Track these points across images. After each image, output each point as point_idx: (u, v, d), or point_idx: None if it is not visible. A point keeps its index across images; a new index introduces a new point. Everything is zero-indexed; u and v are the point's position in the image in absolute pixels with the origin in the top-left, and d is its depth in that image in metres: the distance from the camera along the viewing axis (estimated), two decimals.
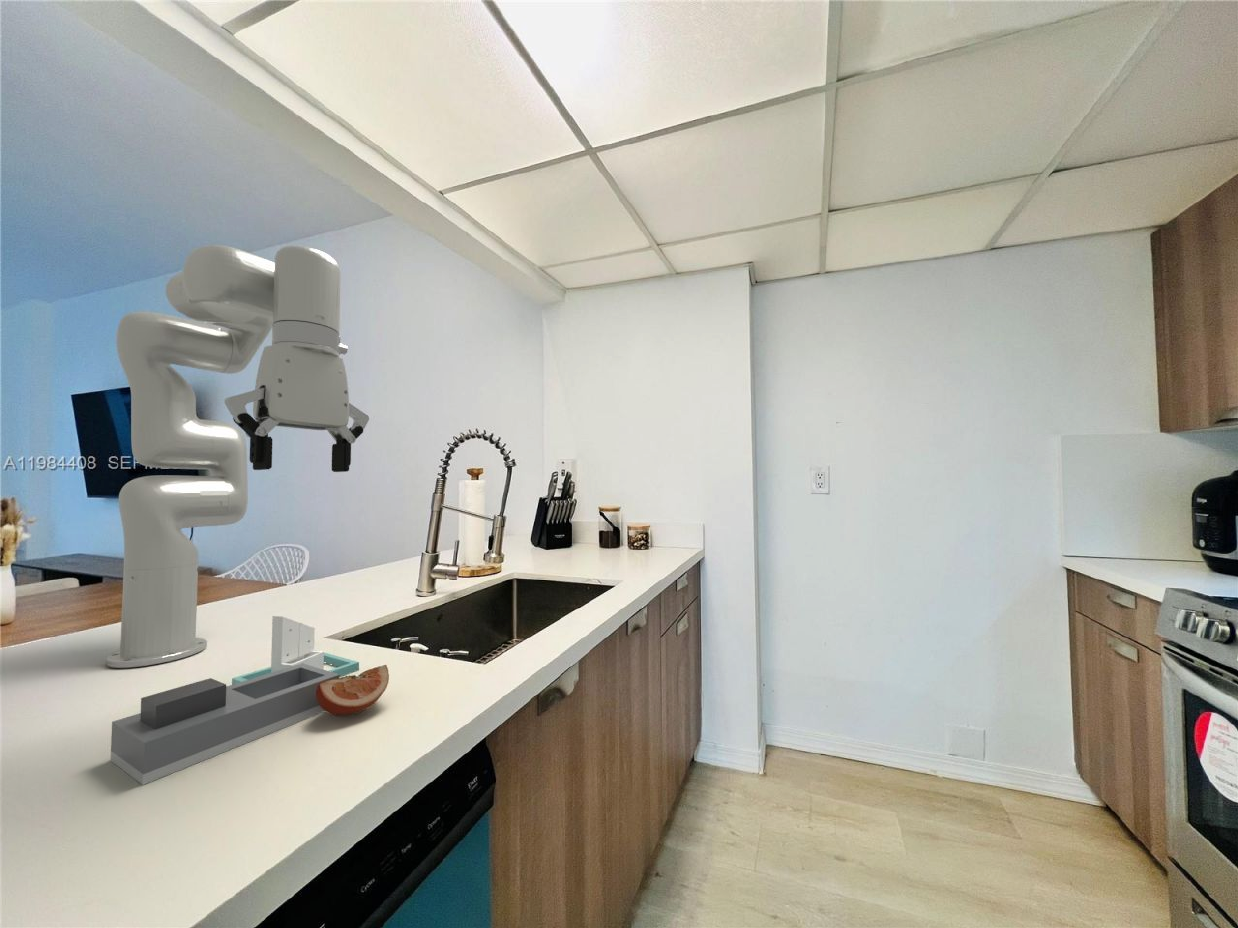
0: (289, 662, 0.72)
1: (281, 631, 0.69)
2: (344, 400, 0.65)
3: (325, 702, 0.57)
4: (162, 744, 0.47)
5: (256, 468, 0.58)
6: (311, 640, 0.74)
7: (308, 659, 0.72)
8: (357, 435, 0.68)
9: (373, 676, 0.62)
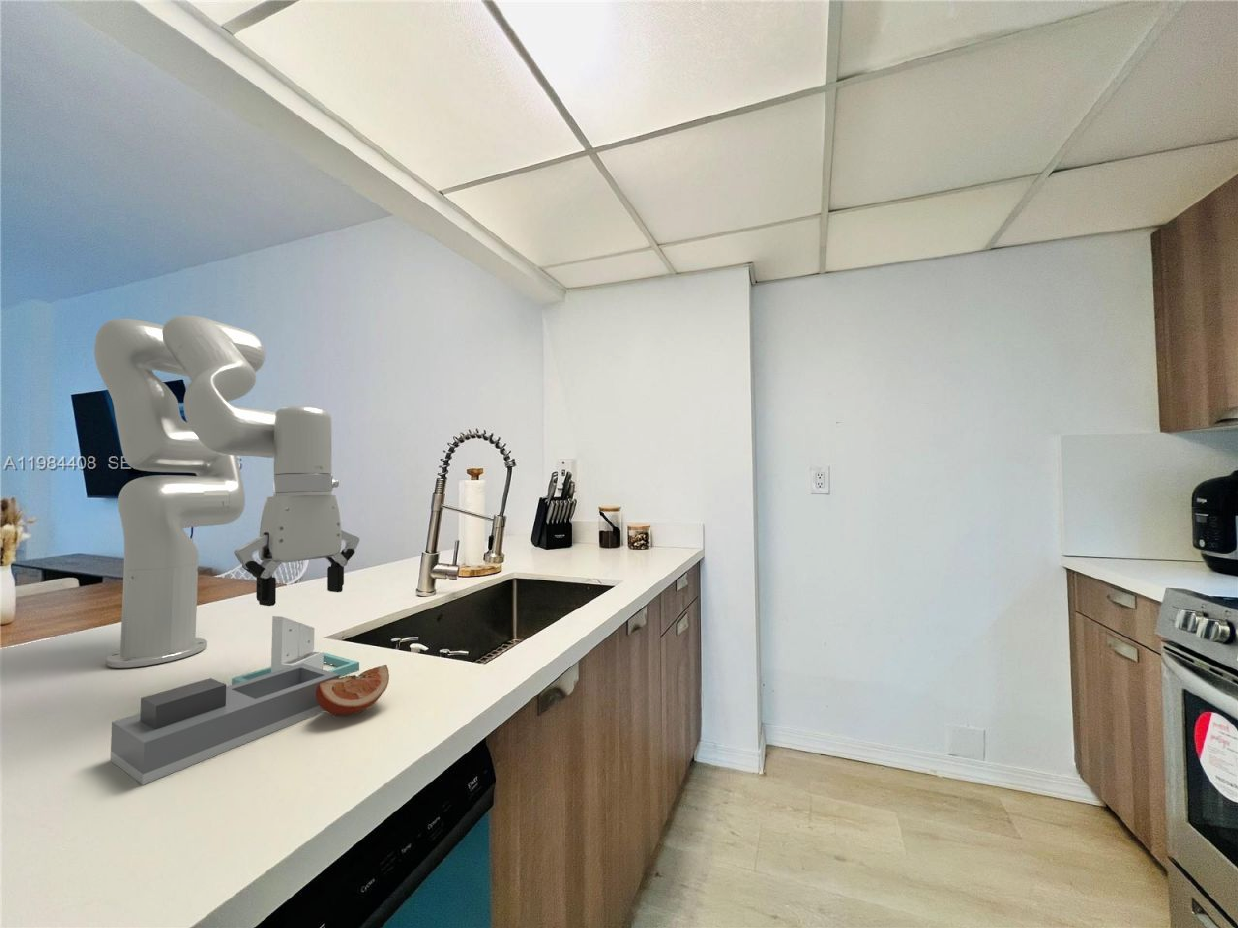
0: (289, 662, 0.72)
1: (281, 631, 0.69)
2: (337, 531, 0.75)
3: (325, 702, 0.57)
4: (162, 744, 0.47)
5: (262, 604, 0.68)
6: (311, 640, 0.74)
7: (308, 659, 0.72)
8: (349, 557, 0.78)
9: (373, 676, 0.62)
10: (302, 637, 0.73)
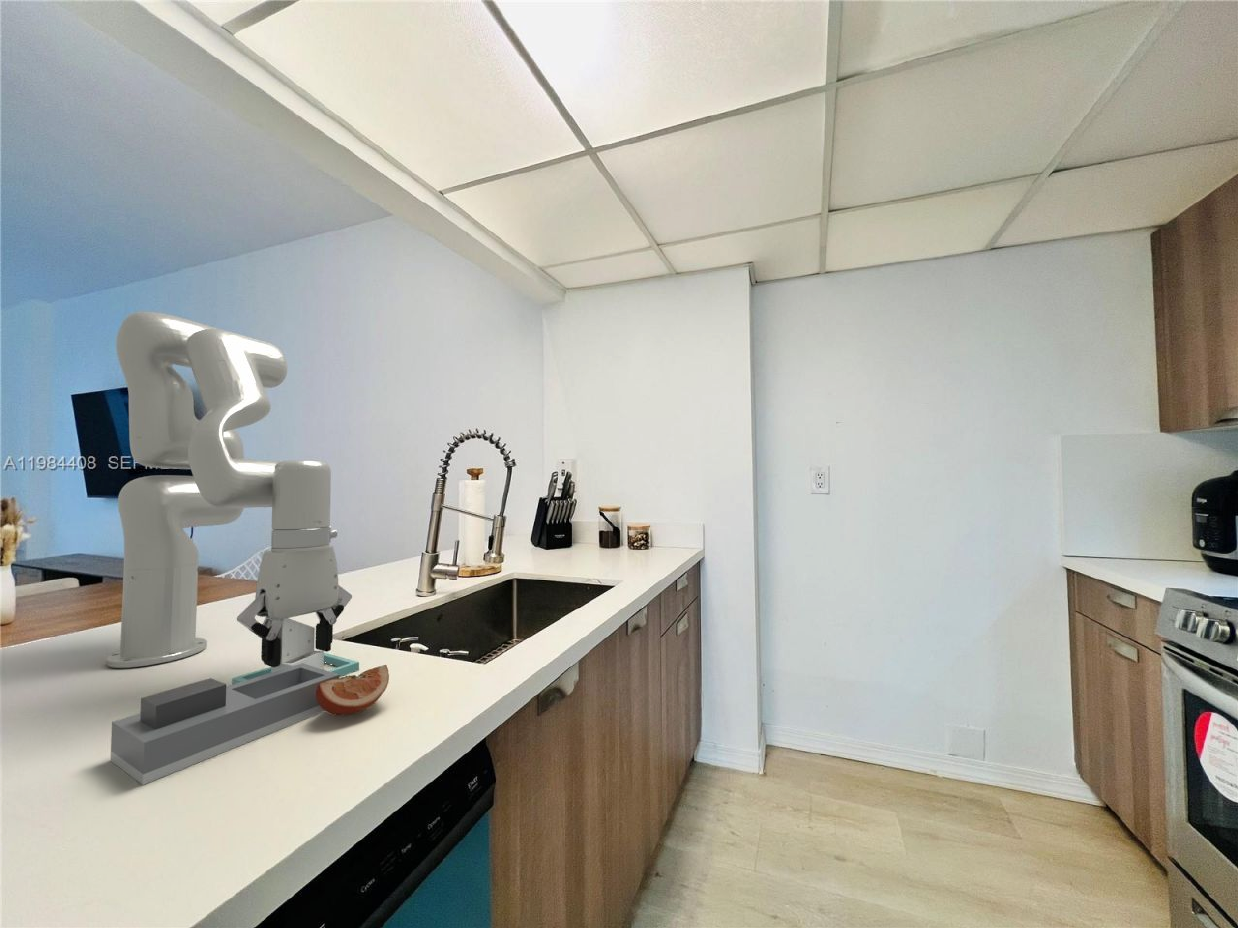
0: (289, 662, 0.72)
1: (281, 631, 0.69)
2: (334, 583, 0.75)
3: (325, 701, 0.57)
4: (162, 744, 0.47)
5: (266, 664, 0.69)
6: (311, 640, 0.74)
7: (308, 659, 0.72)
8: (338, 614, 0.77)
9: (373, 676, 0.62)
10: (302, 637, 0.73)
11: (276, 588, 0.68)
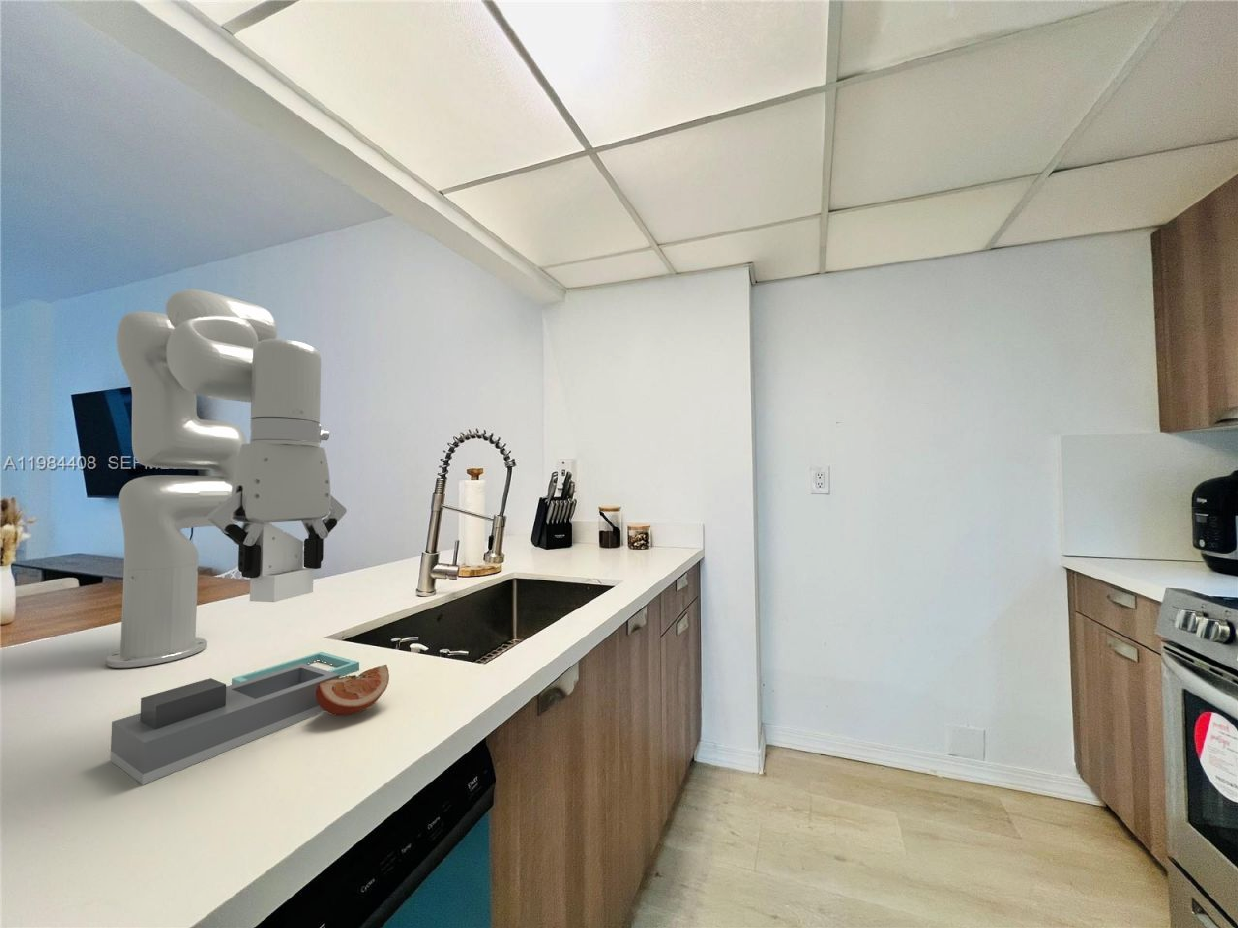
0: None
1: (262, 537, 0.59)
2: (325, 490, 0.64)
3: (325, 702, 0.57)
4: (162, 744, 0.47)
5: (244, 576, 0.58)
6: (299, 555, 0.64)
7: (295, 574, 0.61)
8: (330, 528, 0.66)
9: (373, 676, 0.62)
10: (288, 549, 0.62)
11: (255, 484, 0.57)
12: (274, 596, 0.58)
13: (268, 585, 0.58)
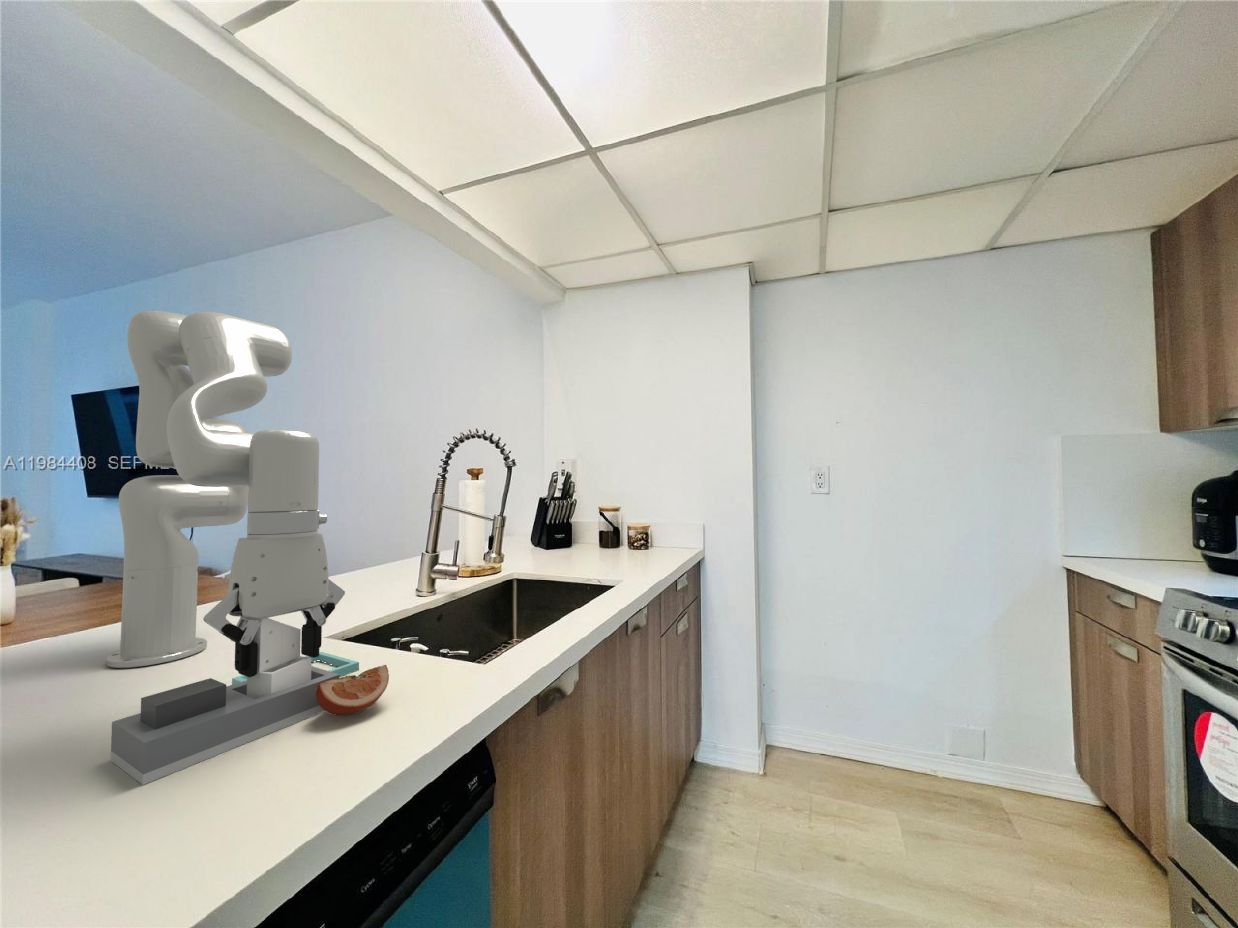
0: (270, 670, 0.61)
1: (259, 633, 0.58)
2: (323, 577, 0.64)
3: (325, 702, 0.57)
4: (162, 744, 0.47)
5: (241, 673, 0.57)
6: (296, 644, 0.63)
7: (292, 666, 0.60)
8: (328, 613, 0.65)
9: (373, 676, 0.62)
10: (285, 640, 0.61)
11: (252, 582, 0.56)
12: None
13: (265, 682, 0.57)
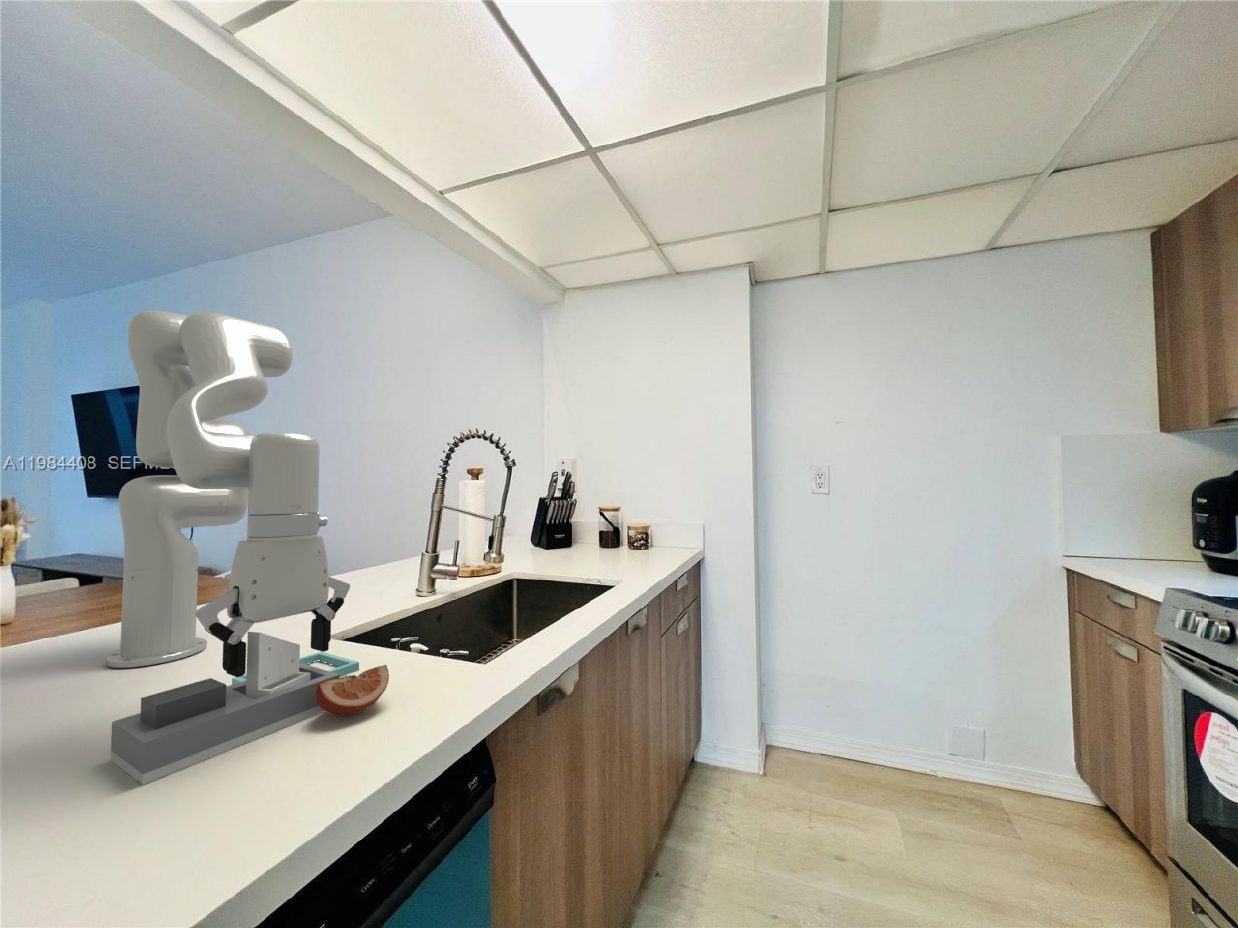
0: (269, 686, 0.61)
1: (258, 650, 0.58)
2: (323, 580, 0.63)
3: (325, 702, 0.57)
4: (162, 744, 0.47)
5: (229, 673, 0.56)
6: (295, 659, 0.63)
7: (291, 683, 0.60)
8: (337, 608, 0.66)
9: (373, 675, 0.62)
10: (284, 656, 0.61)
11: (252, 585, 0.56)
12: None
13: None
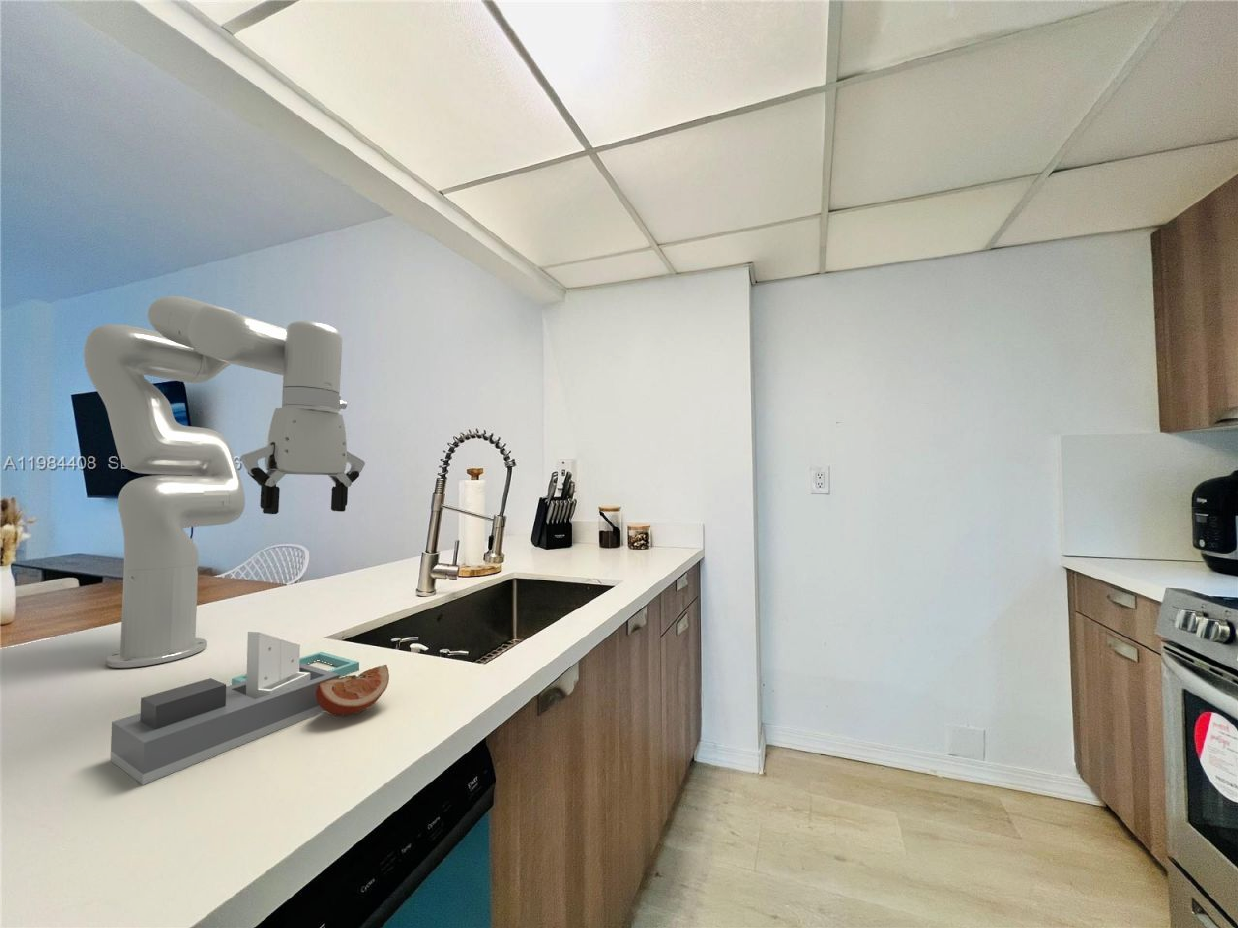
0: (269, 686, 0.61)
1: (258, 650, 0.58)
2: (342, 450, 0.76)
3: (325, 702, 0.57)
4: (162, 744, 0.47)
5: (265, 512, 0.69)
6: (295, 659, 0.63)
7: (291, 683, 0.60)
8: (353, 479, 0.79)
9: (373, 676, 0.62)
10: (284, 656, 0.61)
11: (285, 441, 0.69)
12: None
13: None
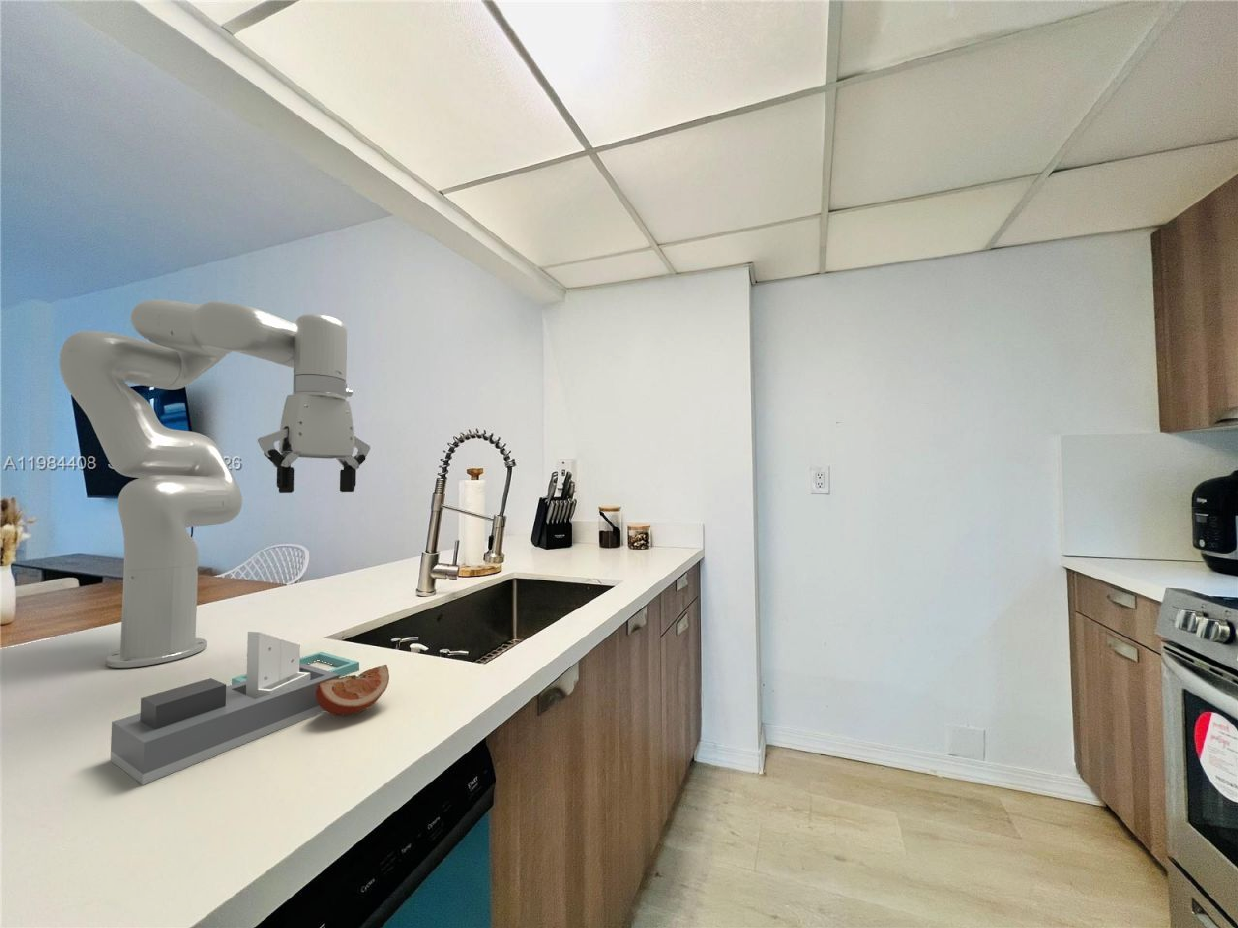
0: (269, 686, 0.61)
1: (258, 650, 0.58)
2: (350, 435, 0.81)
3: (325, 701, 0.57)
4: (162, 744, 0.47)
5: (281, 492, 0.74)
6: (295, 659, 0.63)
7: (291, 683, 0.60)
8: (360, 462, 0.84)
9: (373, 676, 0.62)
10: (284, 656, 0.61)
11: (299, 425, 0.74)
12: None
13: None
